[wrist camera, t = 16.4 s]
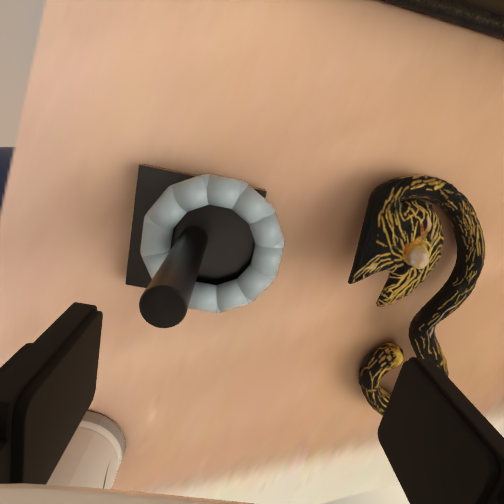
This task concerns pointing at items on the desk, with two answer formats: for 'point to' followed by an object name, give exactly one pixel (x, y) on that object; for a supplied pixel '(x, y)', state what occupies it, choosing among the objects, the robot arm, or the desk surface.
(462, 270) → the toy snake
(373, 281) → the desk surface
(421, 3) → the diary
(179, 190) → the ring
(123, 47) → the desk surface
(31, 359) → the robot arm
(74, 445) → the travel mug
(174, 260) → the stand
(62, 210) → the desk surface
